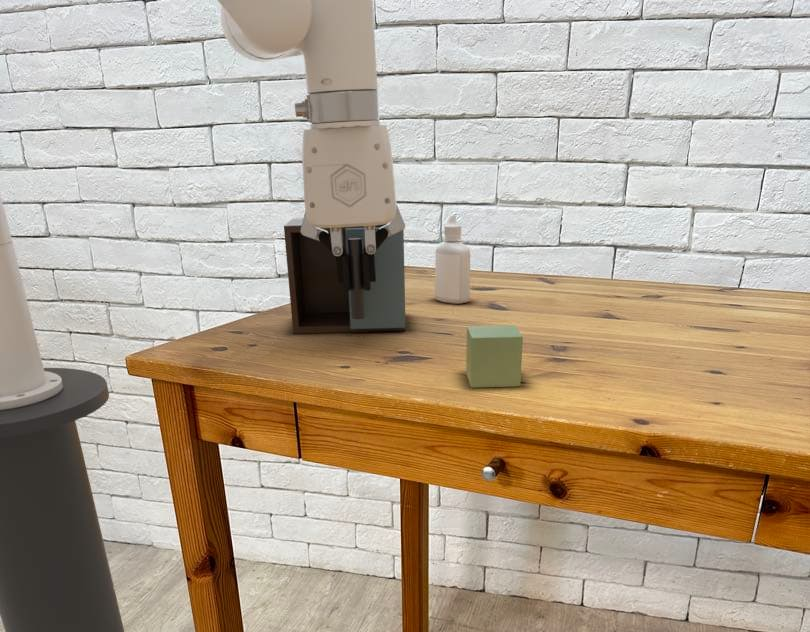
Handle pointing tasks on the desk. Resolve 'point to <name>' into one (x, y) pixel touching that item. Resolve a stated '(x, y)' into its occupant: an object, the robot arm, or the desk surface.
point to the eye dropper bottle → (452, 267)
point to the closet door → (376, 283)
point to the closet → (317, 284)
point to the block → (494, 356)
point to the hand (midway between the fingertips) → (357, 287)
